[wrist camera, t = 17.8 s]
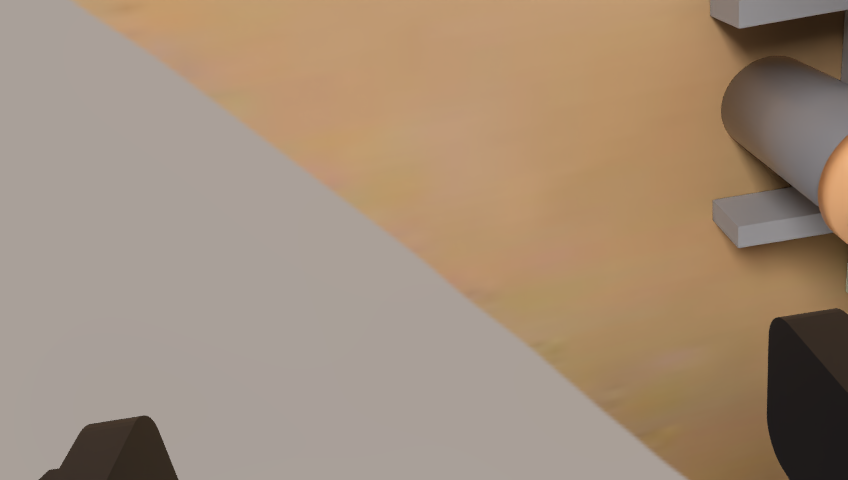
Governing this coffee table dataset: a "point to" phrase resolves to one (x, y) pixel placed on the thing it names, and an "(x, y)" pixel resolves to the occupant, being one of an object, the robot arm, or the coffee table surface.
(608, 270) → the coffee table surface
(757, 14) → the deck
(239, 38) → the coffee table surface
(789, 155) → the chute tube
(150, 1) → the coffee table surface
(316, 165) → the coffee table surface
